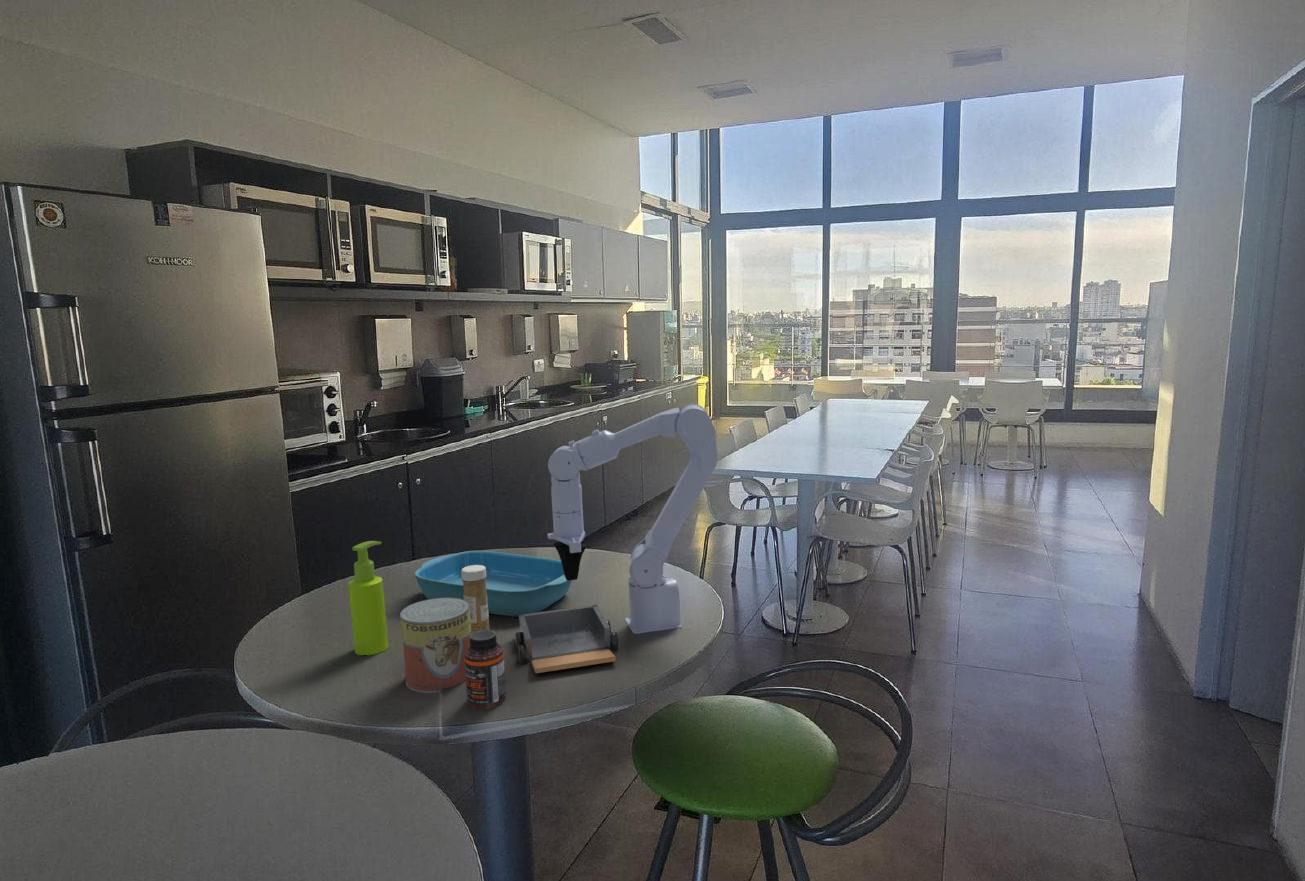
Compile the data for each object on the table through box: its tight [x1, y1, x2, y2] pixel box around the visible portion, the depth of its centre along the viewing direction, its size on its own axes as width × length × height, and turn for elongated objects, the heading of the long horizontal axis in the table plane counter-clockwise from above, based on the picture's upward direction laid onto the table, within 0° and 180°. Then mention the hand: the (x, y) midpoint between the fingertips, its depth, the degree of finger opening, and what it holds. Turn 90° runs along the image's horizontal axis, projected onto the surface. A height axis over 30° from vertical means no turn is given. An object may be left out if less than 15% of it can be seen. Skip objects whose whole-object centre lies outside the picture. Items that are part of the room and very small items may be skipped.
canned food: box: [399, 598, 471, 694], centre depth 127 cm, size 11×11×12 cm
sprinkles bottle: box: [461, 565, 491, 634], centre depth 144 cm, size 5×5×14 cm
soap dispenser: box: [347, 540, 389, 656], centre depth 140 cm, size 6×7×20 cm
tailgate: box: [530, 649, 617, 674], centre depth 130 cm, size 14×1×6 cm
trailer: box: [514, 604, 620, 665], centre depth 139 cm, size 17×13×4 cm
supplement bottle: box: [464, 629, 507, 710], centre depth 118 cm, size 6×6×11 cm
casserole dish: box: [414, 550, 573, 618], centre depth 165 cm, size 37×22×7 cm, turn 65°
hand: (571, 579), depth 146 cm, fingers closed
